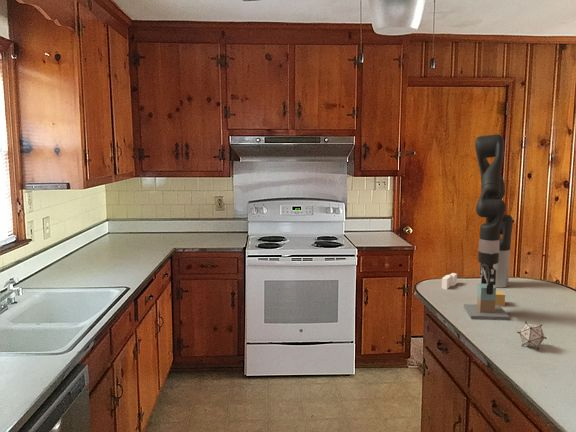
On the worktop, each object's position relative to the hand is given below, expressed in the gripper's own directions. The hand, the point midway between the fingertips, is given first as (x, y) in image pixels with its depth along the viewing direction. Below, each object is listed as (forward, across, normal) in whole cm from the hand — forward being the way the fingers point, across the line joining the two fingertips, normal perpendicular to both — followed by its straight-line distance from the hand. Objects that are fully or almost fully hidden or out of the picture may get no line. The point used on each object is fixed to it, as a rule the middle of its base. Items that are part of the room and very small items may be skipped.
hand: (486, 290), depth 206 cm
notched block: (+10, -37, -7) cm, 39 cm away
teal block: (+3, 0, 0) cm, 3 cm away
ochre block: (+9, -12, +7) cm, 17 cm away
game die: (+9, +32, +7) cm, 34 cm away
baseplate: (+9, 0, 0) cm, 9 cm away
